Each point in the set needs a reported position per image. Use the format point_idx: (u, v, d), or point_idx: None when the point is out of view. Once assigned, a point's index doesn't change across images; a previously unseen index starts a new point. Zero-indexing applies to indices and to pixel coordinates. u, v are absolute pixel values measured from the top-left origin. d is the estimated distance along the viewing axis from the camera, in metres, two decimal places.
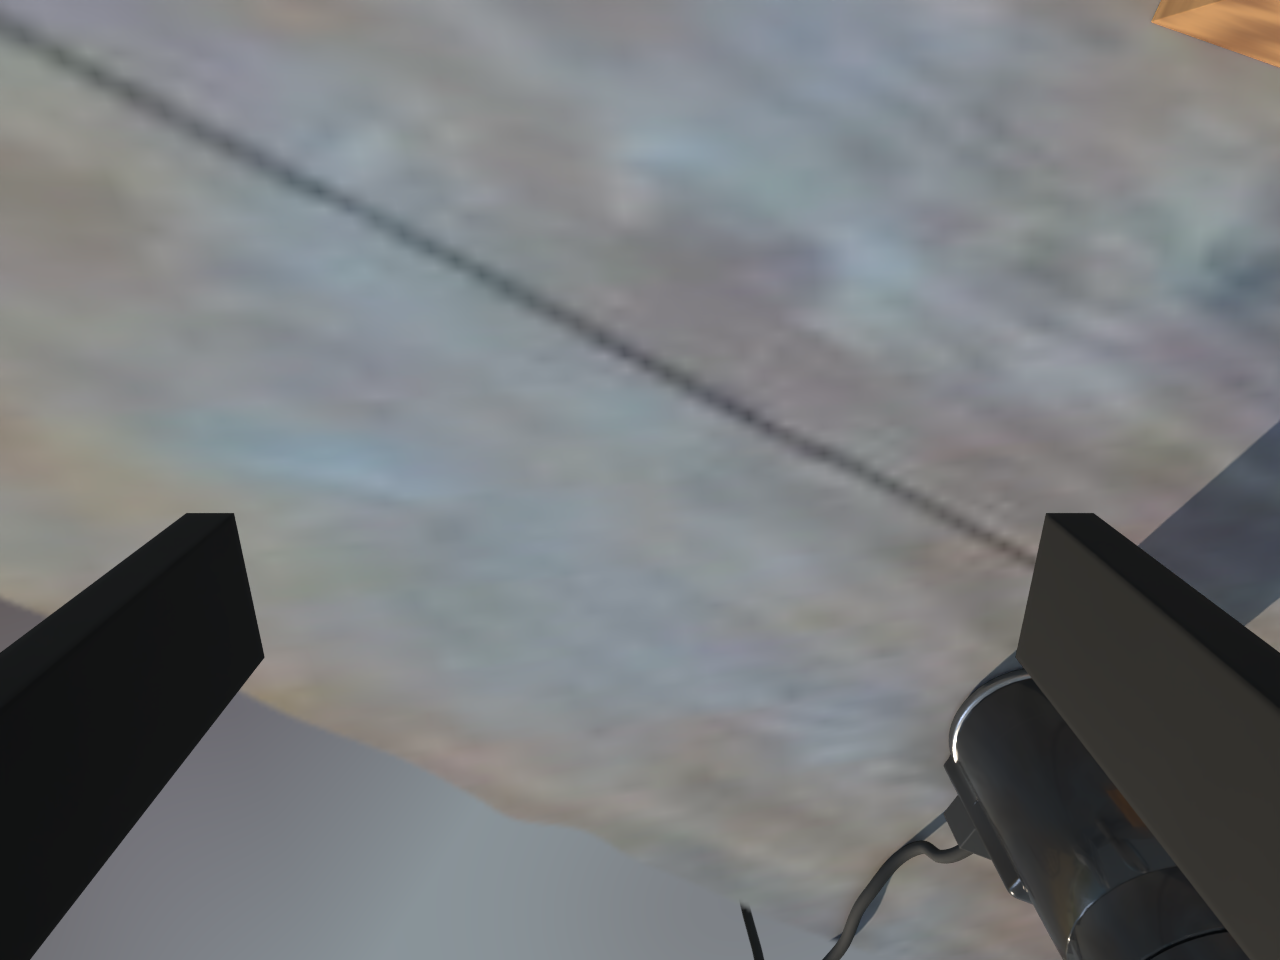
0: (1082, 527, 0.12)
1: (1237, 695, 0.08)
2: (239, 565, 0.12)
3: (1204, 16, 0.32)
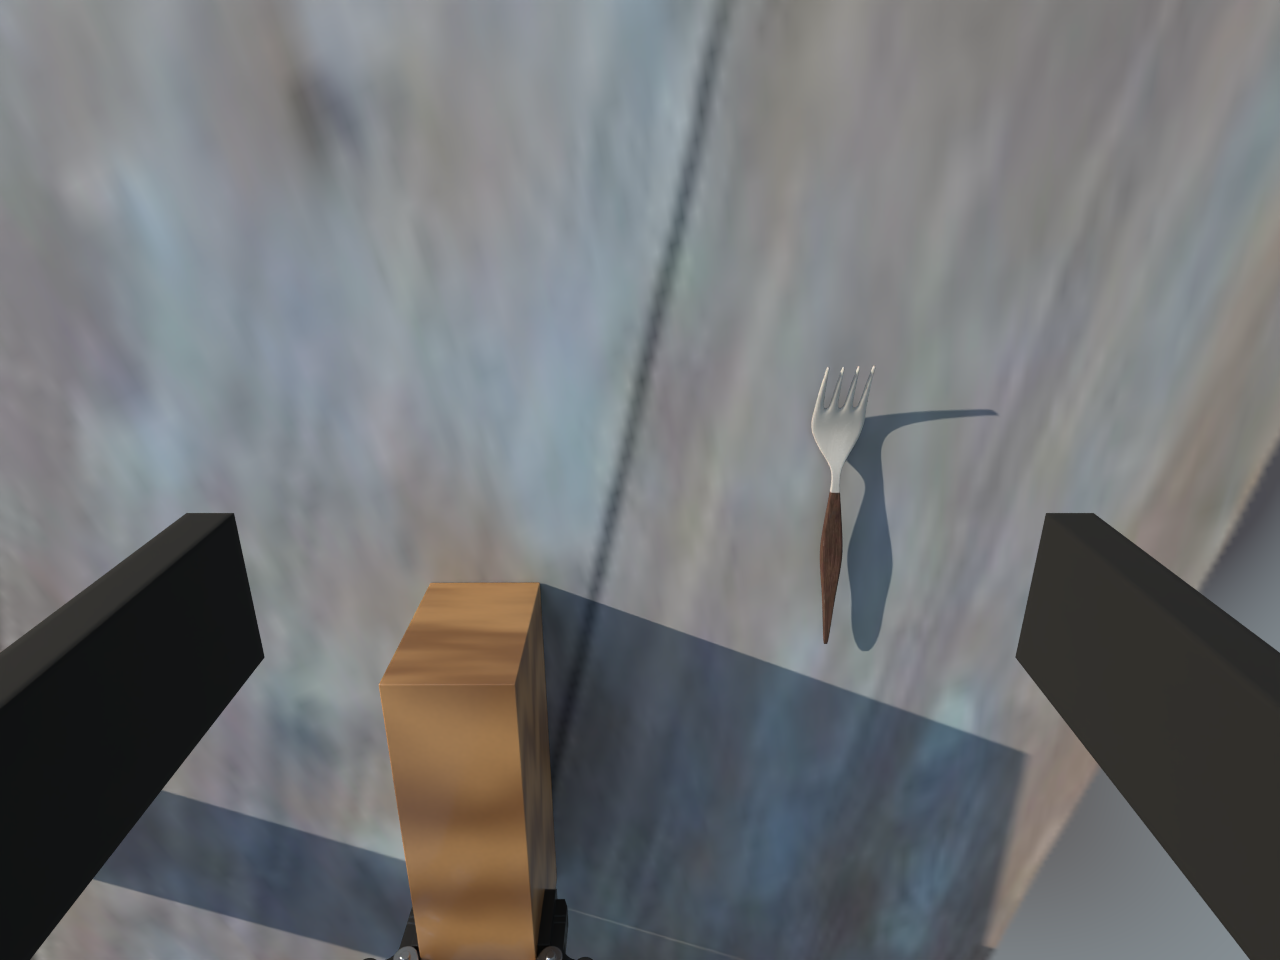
0: (1082, 527, 0.12)
1: (1237, 695, 0.08)
2: (239, 565, 0.12)
3: None
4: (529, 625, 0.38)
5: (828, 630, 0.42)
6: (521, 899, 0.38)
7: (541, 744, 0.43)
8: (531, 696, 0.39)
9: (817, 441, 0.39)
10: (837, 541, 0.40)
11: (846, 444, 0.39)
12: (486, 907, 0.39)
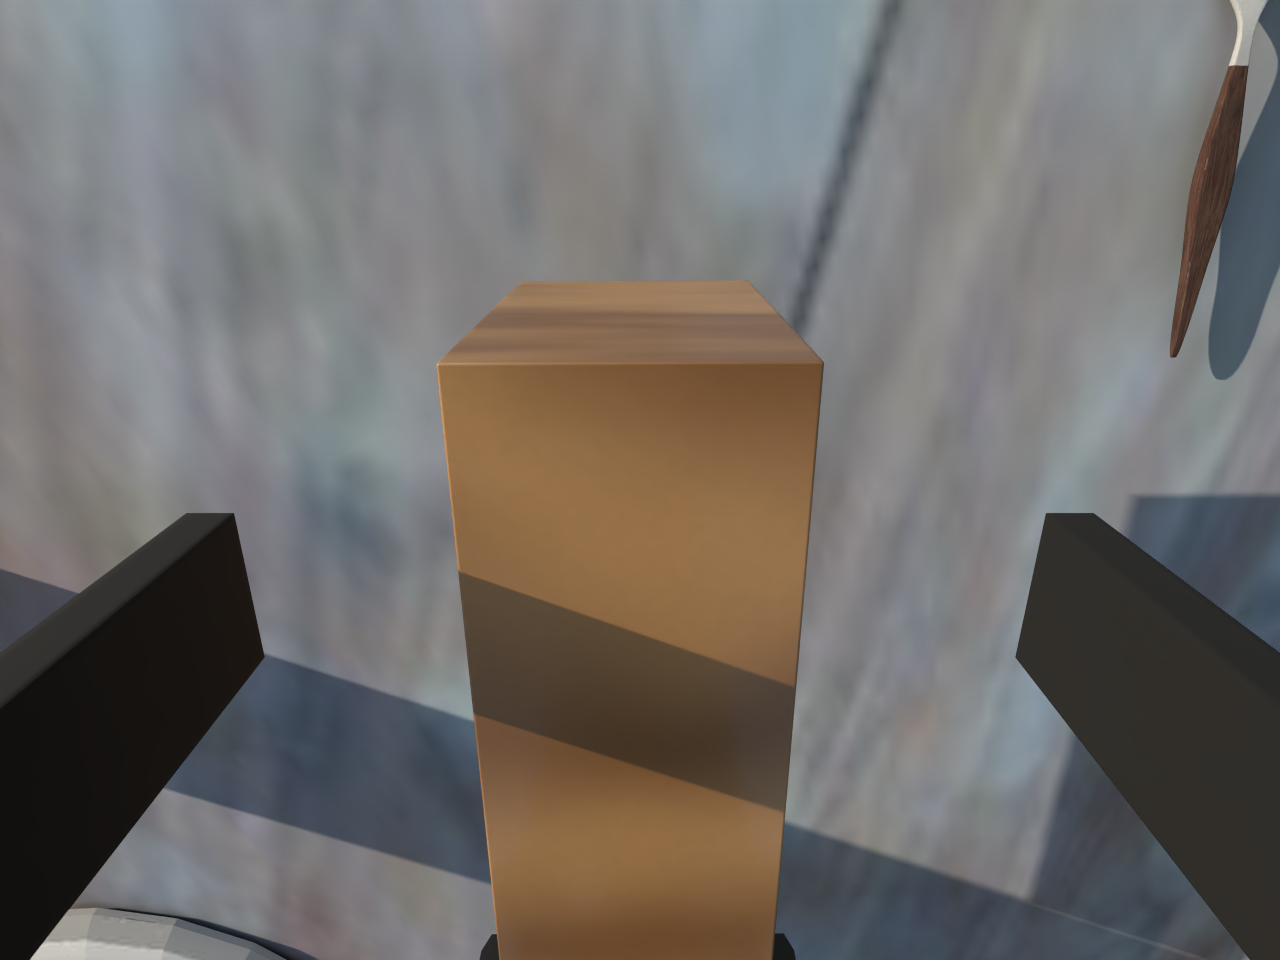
0: (1082, 527, 0.12)
1: (1236, 695, 0.08)
2: (239, 565, 0.12)
3: None
4: None
5: (1184, 330, 0.27)
6: (751, 947, 0.17)
7: None
8: None
9: None
10: (1229, 159, 0.25)
11: None
12: None
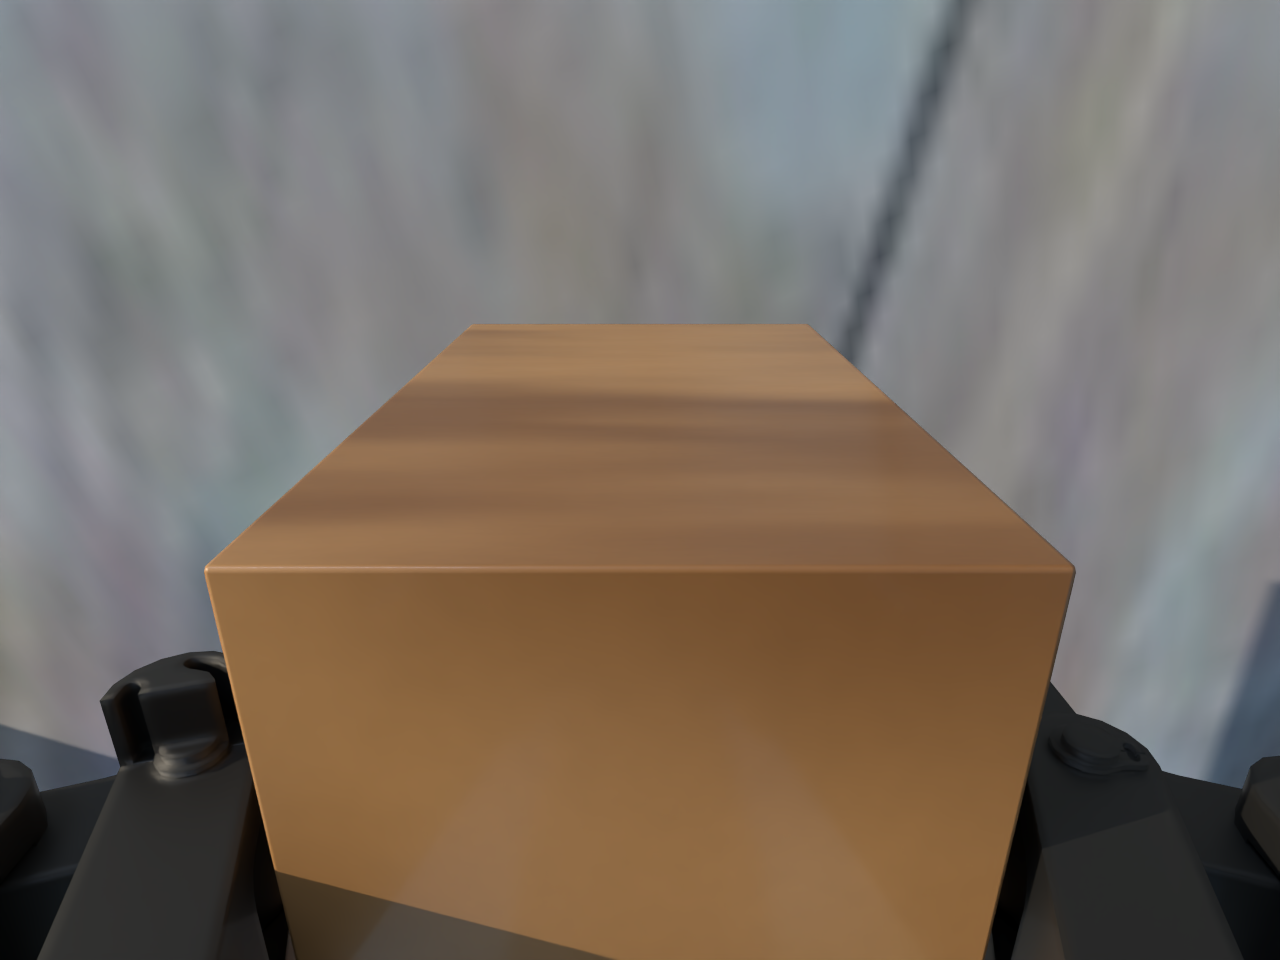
0: None
1: None
2: None
3: None
4: None
5: None
6: None
7: None
8: None
9: None
10: None
11: None
12: None
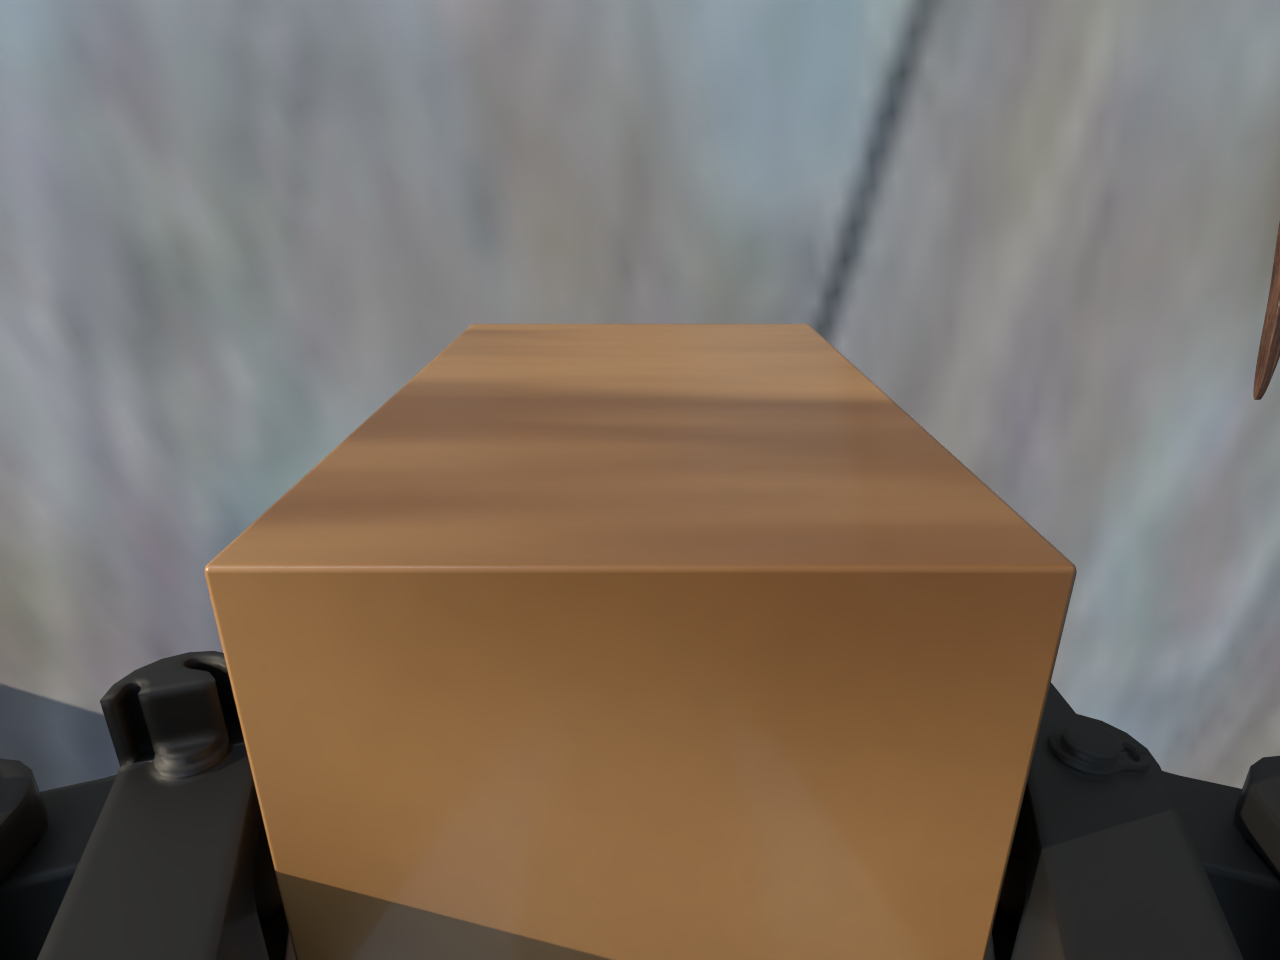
0: None
1: None
2: None
3: None
4: None
5: (1272, 369, 0.23)
6: None
7: None
8: None
9: None
10: None
11: None
12: None
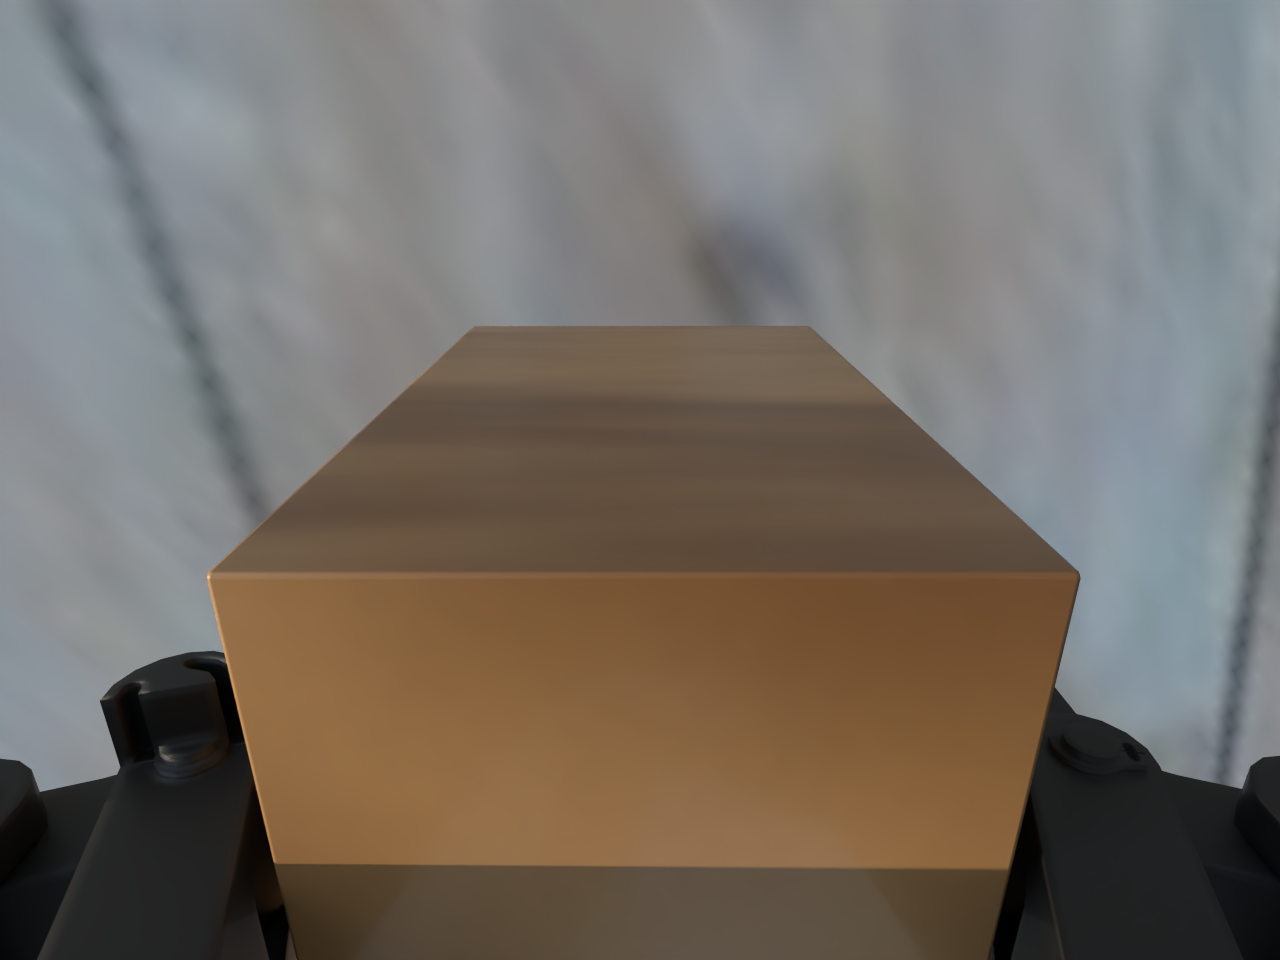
0: None
1: None
2: None
3: None
4: None
5: None
6: None
7: None
8: None
9: None
10: None
11: None
12: None
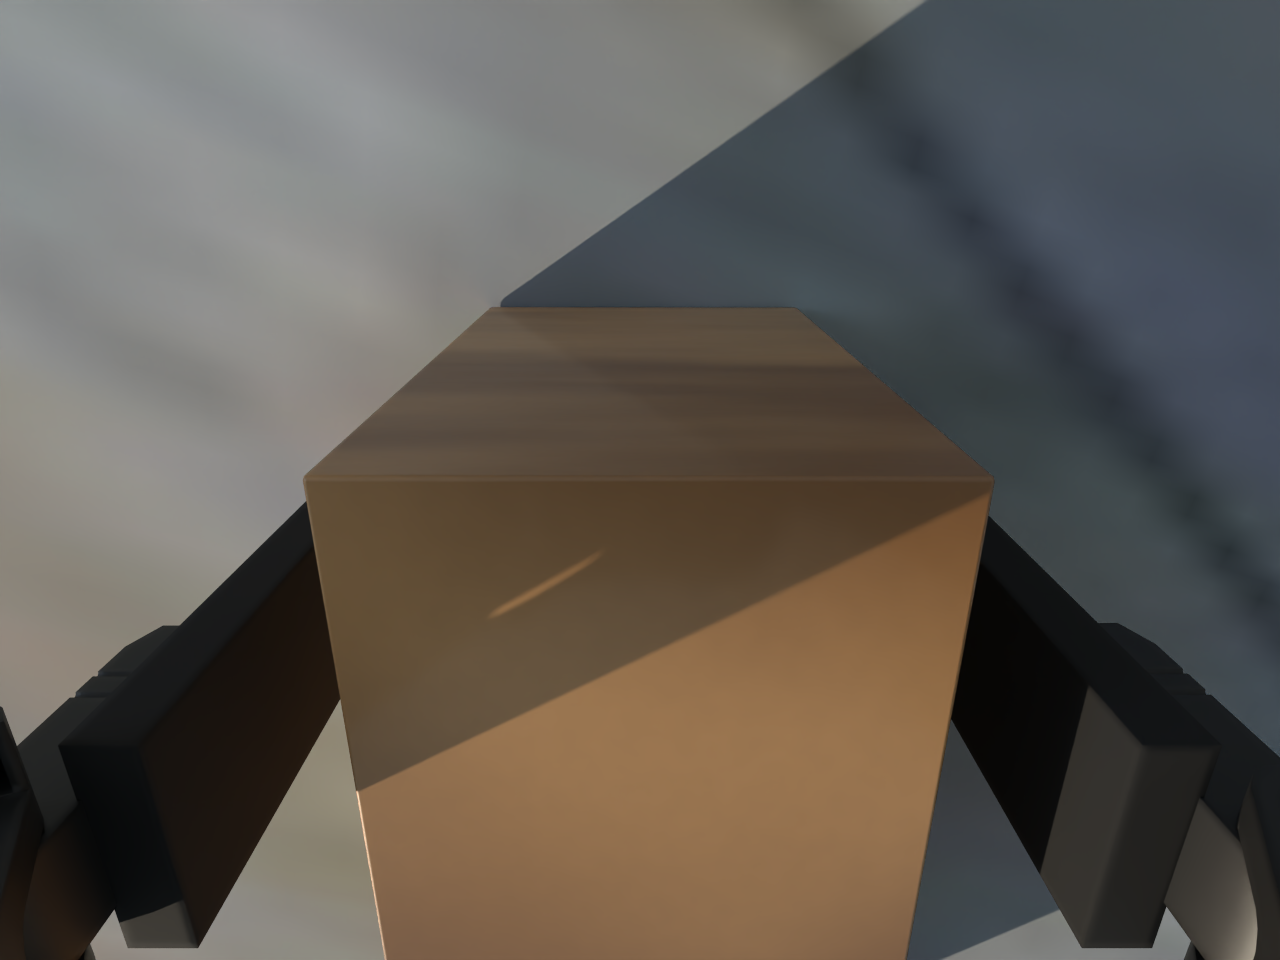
0: None
1: (1028, 635, 0.09)
2: None
3: None
4: None
5: None
6: None
7: None
8: None
9: None
10: None
11: None
12: None
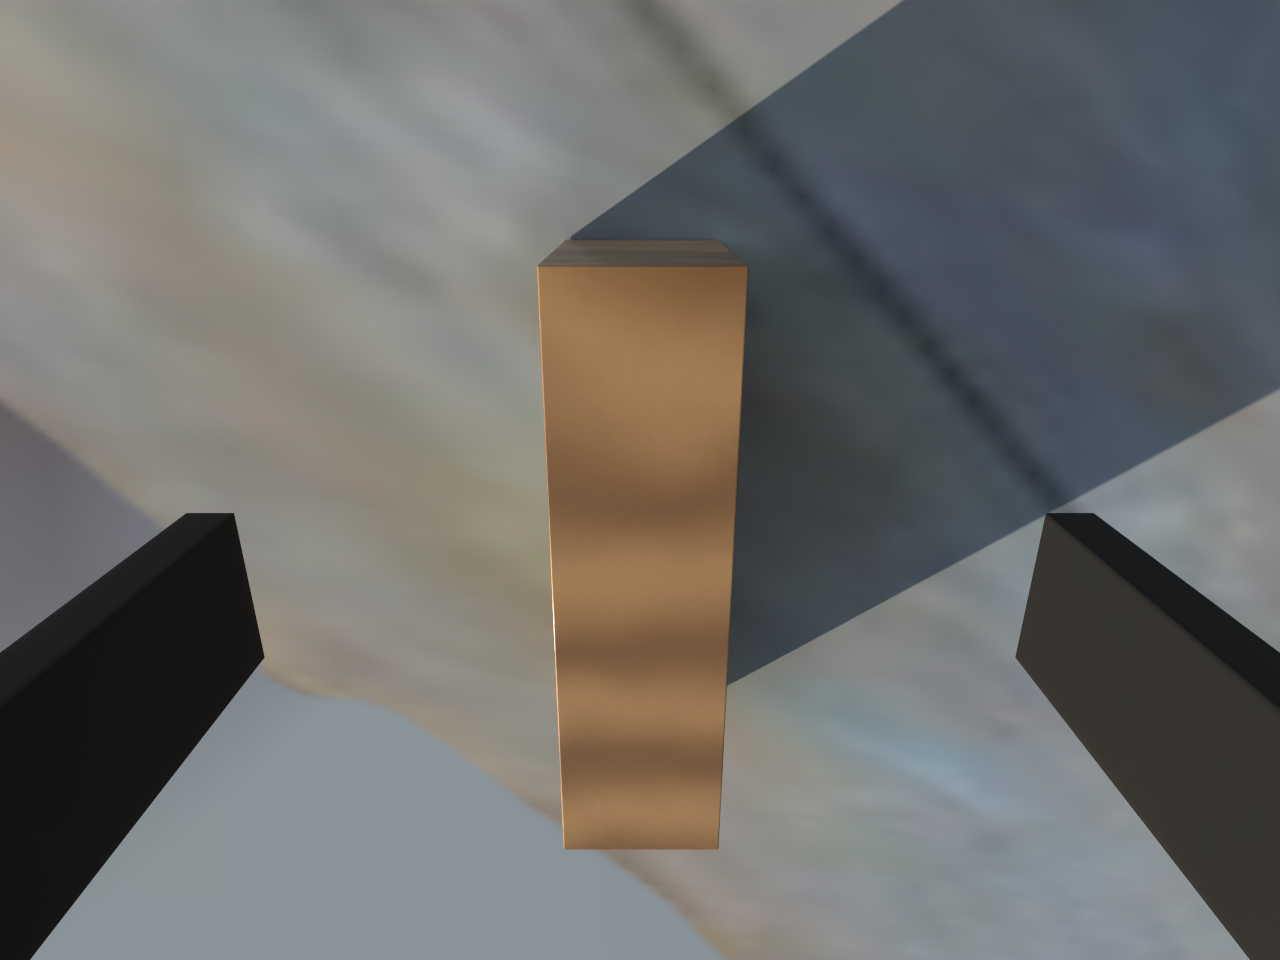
0: (1082, 527, 0.12)
1: (1236, 695, 0.08)
2: (239, 565, 0.12)
3: None
4: (729, 251, 0.26)
5: None
6: (714, 652, 0.27)
7: None
8: None
9: None
10: None
11: None
12: (662, 665, 0.27)
